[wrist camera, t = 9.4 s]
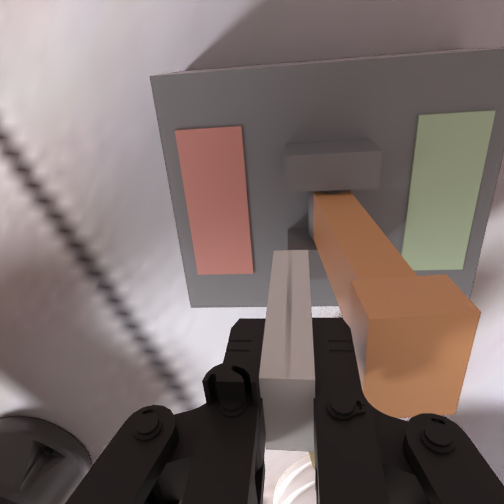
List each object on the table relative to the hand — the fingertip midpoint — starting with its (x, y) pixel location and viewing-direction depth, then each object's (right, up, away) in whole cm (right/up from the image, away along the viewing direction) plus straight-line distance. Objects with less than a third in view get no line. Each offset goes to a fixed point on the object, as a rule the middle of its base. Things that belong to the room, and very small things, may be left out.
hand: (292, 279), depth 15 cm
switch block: (+4, +8, +16) cm, 18 cm away
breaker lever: (+3, +4, +8) cm, 10 cm away
